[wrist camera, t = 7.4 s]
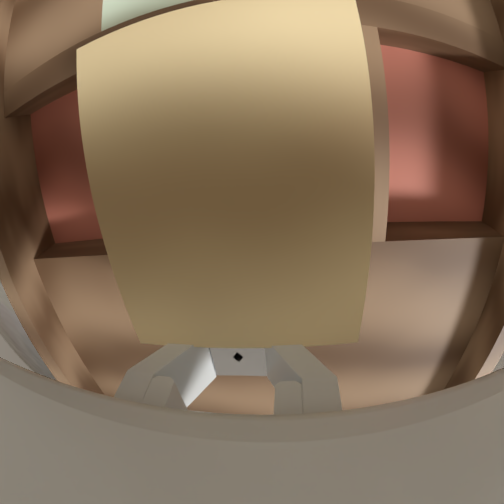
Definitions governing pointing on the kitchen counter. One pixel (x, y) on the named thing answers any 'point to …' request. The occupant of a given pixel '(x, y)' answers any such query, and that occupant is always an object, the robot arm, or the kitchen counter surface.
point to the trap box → (384, 220)
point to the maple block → (234, 171)
